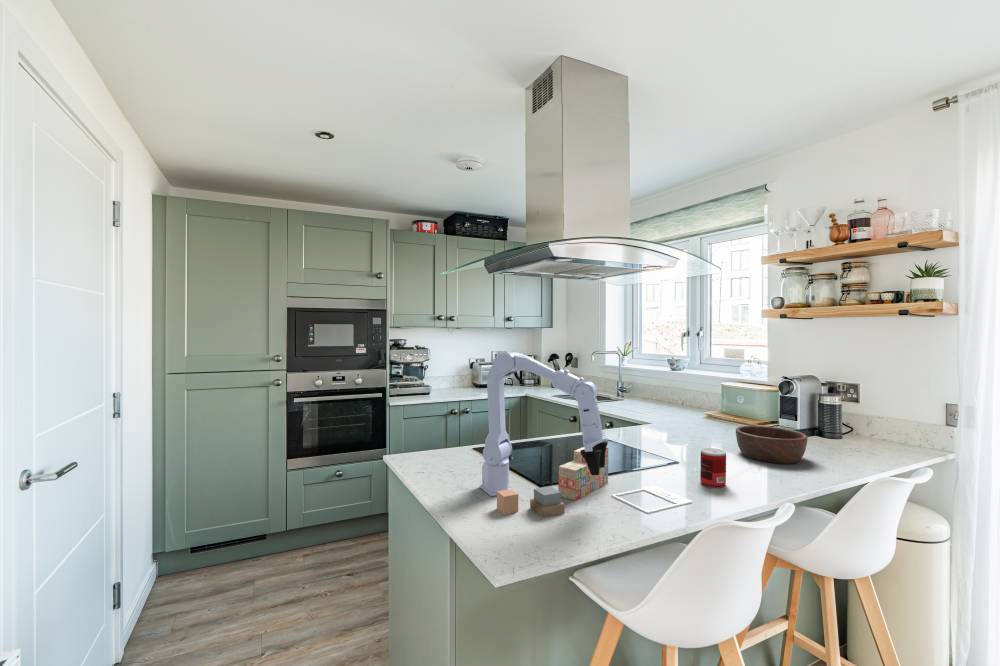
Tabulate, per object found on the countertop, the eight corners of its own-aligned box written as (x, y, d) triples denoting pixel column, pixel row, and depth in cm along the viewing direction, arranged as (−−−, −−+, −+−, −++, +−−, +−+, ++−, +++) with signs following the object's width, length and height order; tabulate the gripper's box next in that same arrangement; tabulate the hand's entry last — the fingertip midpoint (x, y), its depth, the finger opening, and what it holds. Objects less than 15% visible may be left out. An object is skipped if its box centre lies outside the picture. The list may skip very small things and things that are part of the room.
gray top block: (533, 499, 130) (533, 489, 130) (550, 496, 133) (550, 486, 133) (544, 506, 126) (544, 495, 125) (560, 503, 128) (561, 492, 128)
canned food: (727, 482, 154) (727, 450, 154) (723, 489, 147) (724, 455, 147) (702, 478, 158) (703, 446, 158) (698, 485, 151) (698, 451, 151)
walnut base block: (530, 509, 131) (530, 499, 131) (551, 505, 134) (551, 495, 134) (542, 518, 125) (542, 507, 125) (564, 514, 128) (564, 503, 128)
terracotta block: (496, 508, 130) (496, 491, 130) (510, 506, 132) (511, 489, 132) (503, 514, 126) (503, 496, 126) (518, 511, 128) (518, 494, 128)
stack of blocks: (575, 501, 137) (576, 460, 136) (557, 496, 141) (558, 456, 140) (608, 483, 153) (608, 446, 153) (591, 479, 157) (591, 443, 157)
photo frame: (692, 500, 136) (647, 511, 127) (692, 504, 136) (647, 515, 127) (654, 485, 149) (611, 494, 140) (654, 488, 149) (611, 498, 140)
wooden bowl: (730, 446, 201) (730, 423, 201) (796, 452, 194) (796, 427, 193) (741, 462, 178) (741, 436, 177) (816, 469, 170) (817, 441, 170)
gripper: (599, 427, 124) (607, 477, 123) (609, 418, 137) (616, 463, 136) (574, 429, 127) (581, 478, 126) (586, 419, 140) (593, 464, 139)
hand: (598, 470), depth 131 cm, fingers open, 7 cm apart
